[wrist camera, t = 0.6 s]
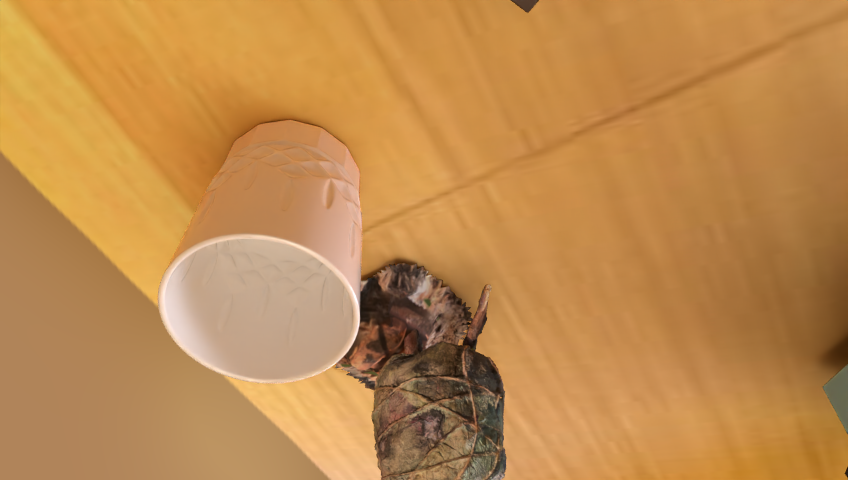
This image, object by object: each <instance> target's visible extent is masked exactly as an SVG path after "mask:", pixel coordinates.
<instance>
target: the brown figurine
mask: <svg viewBox="0 0 848 480" xmlns="http://www.w3.org/2000/svg"><path fill="white" fill-rule="evenodd" d="M389 265H390V264H389ZM385 267H386V266H385ZM381 272H382V273H383V274H382V273H378V272H377V273H378V274H376V275H373V278H368V279H367V281H361V293H360V324H359V329H358V333H357V336H356V339H355V341H354V343H353V345H352V346H351V348H350V349H349V351H348V352H347V353H346V354H345V356H344V357H343V358H342V359H341V360H339V361H338V362H337V364H336V368H342V370H345V371H348V372H350V373H348V374H346V375H350V376H353V377H354V378H357V379H359V381H362V380H363V381H362V382H361V383H365V388H369V389H372V390H375V392H374V398H375V399H374V411H372V421H373V424H374V436H375V440H376V444H375V450H376V451H377V455H376V456H377V458H378V468H379V469H380V470H381V476H382V477H381V480H501V479H502V478H504V476H505V474H504V473H505V470H506V454H505V449H504V448H503V440H504V436H503V425H504V422H503V420H504V419H503V413H504V397H505V391H504V389H503V382H502V379H501V376H500V374H499V371H498V368H497V367H496V365H495V364H494V363H493V361H492V360H491V359H490V358H489V357H485V356H484V355H482V354H480V353H478V352H476V351H475V350H476V344H477V337H478V335H479V334H481V333H482V330H483V327H484V325H485V323H486V321H487V317H486V311H487V304H488V298H489V293H490V291H491V288H492V287H491V285H485V287H484V289H483V291H482V294H481V298H480V300H479V306H478V309H477V311H476V313H475V315H474V318H473V319H472V318H471V314H472V313H471V312H469V311H468V310H469V309H470V308H471V307H466V302H465V303H464V304H462V299H460V298H456V295H455V294H454V293H453V292H452V291H451V289H450V287H449V286H447V287H443V288H440V287H441V283H442V280H436V277H433V278H431V276H432V275H428V276H426V274H427V273H428V271H424V266H423V267H421V268H419V269H417V264H415V265H408V264H406V263H401V264H399V263H398V264H397V265H395V264H394V265H393V266H392V265H390V268H389V267H386V271H385V270H381ZM461 304H462V305H461ZM467 321H471V323H469V322H467ZM468 325H470V326H469V327H468ZM467 329H468V331H467V333H465V332H463V331H465V330H467ZM465 334H467V335H466V337H465V339H464V338H463V337H462V336H463V335H465ZM459 339H464V341H463V345H460V346H459V345H458V342H459ZM343 367H344V368H343ZM359 381H358V382H359ZM500 397H502V398H501V399H500Z"/></svg>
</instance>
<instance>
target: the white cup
mask: <svg viewBox="0 0 848 480" xmlns="http://www.w3.org/2000/svg"><path fill="white" fill-rule="evenodd" d="M361 257H362V212H361V209H360V171H359V169H358V167H357V165H356V163H355V161H354V159H353V158H352V156H351V154H350V152H349V150H348V148H347V147H346V146H345V145H344V144H343V143H341V142H340V141H339V140H337V139H336V138H335V137H333V136H332V135H331V134H329V133H328V132H327V131H325V130H324V129H323V128H321V127H317V126H313V125H309V124H305V123H301V122H297V121H294V120H284V121H277V122H271V123H264V124H259V125H257V126H256V127H254V128H253V129H251V130H250V131H248V132H247V133H246V134H244V135H243V136H241V137H240V138H238V139H237V140H235V142H234V143H233V146H232V148H231V150H230V152H229V154H228V156H227V158H226V160H225V162H224V164H223V166H222V167H221V169H220V171H219V172H218V173H217V174H216V175H215V176H214V177H213V179H212V181H211V183H210V185H209V187H208V188H207V190H206V192H205V194H204V195H203V197H202V199H201V201H200V203H199V205H198V207H197V209H196V211H195V213H194V215H193V217H192V219H191V221H190V223H189V225H188V227H187V229H186V231H185V233H184V235H183V237H182V239H181V241H180V243H179V245H178V247H177V249H176V251H175V253H174V255H173V257H172V259H171V261H170V263H169V265H168V267H167V269H166V271H165V273H164V275H163V277H162V280H161V282H160V286H159V291H158V308H159V312H160V316H161V319H162V322H163V324H164V326H165V328H166V330H167V332H168V333H169V335H170V336H171V338H172V339H173V340H174V341H175V343H176V344H177V345H178V346H179V347H180V348H181V349H182V350H183V351H184V352H185V353H186V354H187V355H189V356H190V357H191V358H193V359H194V360H196V361H197V362H198V363H200V364H202V365H203V366H205V367H207V368H209V369H211V370H213V371H215V372H217V373H220V374H222V375H225V376H228V377H231V378H235V379H239V380H243V381H248V382H255V383H287V382H293V381H298V380H302V379H306V378H309V377H312V376H315V375H317V374H319V373H321V372H323V371H325V370H327V369H329V368H330V367H332V366H333V365H335V364H336V363H337V362H338V361H339V360H341V359H342V358H343V357H344V356H345V354H346V353H347V352H348V351H349V349H350V348H351V346H352V345H353V343H354V341H355V339H356V336H357V333H358V329H359V324H360V293H361Z"/></svg>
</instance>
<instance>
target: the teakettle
mask: <svg viewBox="0 0 848 480" xmlns="http://www.w3.org/2000/svg"><path fill="white" fill-rule="evenodd" d="M823 389H824V391H825V393H826V395H827V396H828V398H829V400H830V402H831V404H832V406H833V408H834V409H835V411H836V413H837V415H838V417H839V419H840V421H841V422H842V424H843V426H844V428H845V430H846V432H847V434H848V364H847V365H846V366H845V367H844V368H843V369H842V370H841V371H840V372H838V373H837V374H836V375H835V376H834V377H833V378H832V379H831V380H830V381H828V382H827V383H826V384H825V385H824V386H823Z"/></svg>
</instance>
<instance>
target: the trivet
mask: <svg viewBox="0 0 848 480" xmlns="http://www.w3.org/2000/svg"><path fill="white" fill-rule="evenodd" d="M511 1H512V2H514V3H515V4H516V5H518V6H519V7H520V8H521V9H523V10H524V11H525V12H527V13H528V12H530V10H531V9H532V8H533V7H534V6H535V4H536V3H537V2H538V1H539V0H511Z"/></svg>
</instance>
